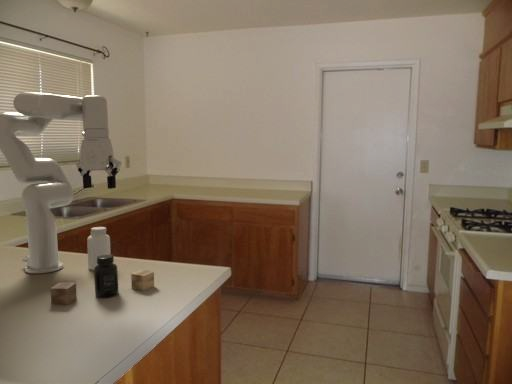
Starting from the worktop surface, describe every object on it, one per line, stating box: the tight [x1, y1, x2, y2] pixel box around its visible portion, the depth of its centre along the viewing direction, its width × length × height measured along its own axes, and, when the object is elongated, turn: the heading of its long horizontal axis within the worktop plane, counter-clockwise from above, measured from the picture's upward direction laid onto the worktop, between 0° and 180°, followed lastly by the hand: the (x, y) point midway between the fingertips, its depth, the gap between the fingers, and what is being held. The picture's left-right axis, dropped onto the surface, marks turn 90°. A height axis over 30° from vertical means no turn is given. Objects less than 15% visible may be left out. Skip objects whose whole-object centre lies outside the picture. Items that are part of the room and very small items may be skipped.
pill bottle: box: [86, 226, 112, 271], centre depth 154 cm, size 8×8×15 cm
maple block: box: [130, 269, 155, 292], centre depth 135 cm, size 5×5×5 cm
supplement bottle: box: [93, 254, 119, 299], centre depth 128 cm, size 7×7×12 cm
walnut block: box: [50, 282, 77, 306], centre depth 122 cm, size 5×5×5 cm
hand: (99, 188), depth 136 cm, fingers open, 9 cm apart
